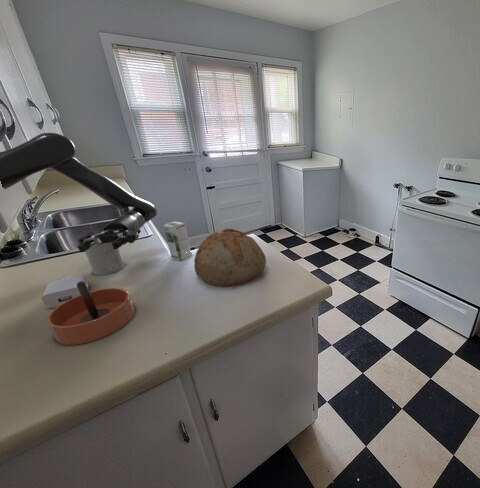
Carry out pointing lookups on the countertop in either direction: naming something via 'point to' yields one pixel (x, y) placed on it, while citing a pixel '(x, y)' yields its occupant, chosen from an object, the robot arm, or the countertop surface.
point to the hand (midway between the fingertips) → (97, 247)
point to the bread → (229, 259)
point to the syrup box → (177, 240)
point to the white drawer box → (62, 290)
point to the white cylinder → (104, 259)
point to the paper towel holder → (89, 304)
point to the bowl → (73, 332)
